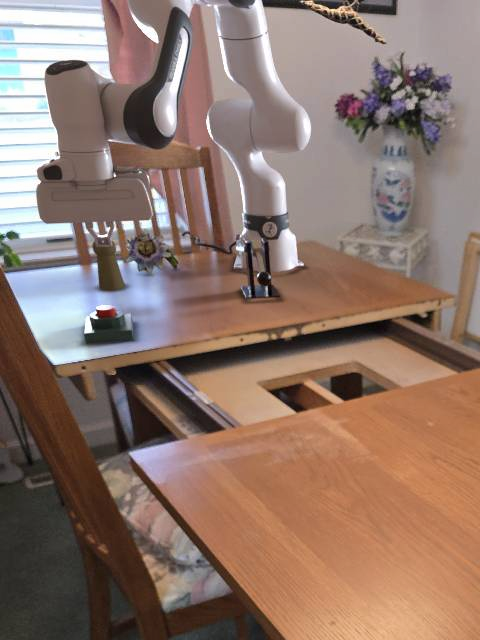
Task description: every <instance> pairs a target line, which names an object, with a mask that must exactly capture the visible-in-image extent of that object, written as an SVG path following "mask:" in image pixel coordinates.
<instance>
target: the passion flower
mask: <svg viewBox="0 0 480 640" xmlns="http://www.w3.org/2000/svg"><path fill="white" fill-rule="evenodd" d="M164 236H165V235H163V234H160V235H158V236H154V237H153V236H152V235H151V236H150V233H149V230H148V229H146V228H144V229H143V230H142V232H141V233H139V234H137V236H135V237H134V236H131V237H130V240H129V239H128V238H126V242H127V243H128V244H129V245H127V246H126V248H127V249H128V250H129V255H127V256H126V257H125V258H123V261H124V263H132V262H135V263H136V265H137V270H138V272H142V271H146V274H147V275H148V276H150V275H152V273H153V269H154V267H156V268H157V269H159V270H161V271H162V270H163V269H164V263H163V259H164V260H166V261H167V262H168V263H169V264H170V265H171V266H172V268H173V269H174V270H175V271H176V270H177V269H178V265H179V260H178V259H177V258H176V257H175V254H173V252H172V251H171V248H170V245H169V244H166V242H163V241H164V239H165V237H164Z"/></svg>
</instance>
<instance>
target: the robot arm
mask: <svg viewBox="0 0 480 640" xmlns="http://www.w3.org/2000/svg"><path fill="white" fill-rule="evenodd" d="M126 2H127V6H128V9H129V13H130V14H131V17H132V18H133V21H134V22H135V23H136V25H137V26H138V28H139V29H141V31H142V32H143V33H144V34H145V35H146V36H147V37H148V38H150V39H151V40H152V41H153V42H155V43H156V44H157V45H156V49H155V52H154V57H153V61H152V64H151V68H150V73H149V76H148V77H147V79H145V80H144V81H142V82H139V83H135V84H134V83H133V84H132V83H122V82H121V83H120V82H115V81H112V80H111V79H109V78H106V77H104V76H102V75H100V74H99V73H98V72H96V71H95V70H94V69H92V67H91V65H90V64H89V63H88V62H87V61H84V60H82V59H68V60H60V61H56V62H53V63H51V64H49V65H48V67H46V69H45V71H44V91H45V98H46V103H47V108H48V113H49V117H50V122H51V124H52V126H53V128H54V130H55V133H56V139H57V143H56V145H57V152H58V156H57V157H54V158H50V159H48V160H46V161H43V162H40V163H39V164H38V165H37V166H36V169H35V174H36V176H37V179H38V180H39V181H38V183H37V186H36V189H35V192H36V193H35V197H36V203H37V204H36V206H37V211H38V215H39V219H40V220H41V221H42V222H43V223H44V224H46V225H51V224H53V225H54V224H78V223H79V224H81V223H82V224H83V223H84V226H85V229H86V231H87V232H88V233H89V234H90V235H91V237H92V238H93V239H94V241H95V243H96V247H103V246H112V241H113V240H112V234H113V233H114V230H115V222H139V221H140V222H141V221H142V222H143V221H144V222H145V221H150V220H152V218H153V216H154V212H153V207H152V203H151V199H150V195H149V191H150V189H151V183H150V177H149V175H148V173H147V172H146V171H145V170H144V169H142V168H140V167H139V166H135V165H131V166H116V165H115V166H114V164H113V158H112V153H111V147H110V145H109V142H115V143H119V144H120V143H122V144H129V145H136V146H141V147H144V148H146V149H147V148H148V149H152V150H162V149H164V148H166V147H168V146H169V145H170V144H171V143H172V141H173V140H174V138H175V136H176V134H177V131H178V127H179V112H180V103H181V98H182V94H183V89H184V86H185V81H186V76H187V73H188V68H189V64H190V60H191V55H192V51H193V44H194V28H193V24H192V21H191V19H190V16H191V14H192V10H193V7H194V5H195V4H196V5H200V6H205V7H213V8H214V19H215V25H216V30H217V36H218V42H219V46H220V52H221V57H222V62H223V67H224V71H225V73H226V76H227V77H228V78H229V79H230V81H232V82H233V83H234V84H236V85H237V86H239V88H242V89H243V90H244V91H245V93H247V95H248V96H249V97H250V98H249V99H248V98H236V97H233V98H226V99H220V100H215V101H213V103H212V104H211V105H210V107H209V109H208V111H207V116H206V127H207V130H208V133H209V136H210V138H211V140H212V141H213V142H214V143H215V144H216V145H217V146H218V147H219V148H220V149H221V150H222V151H223V152H224V153H225V154H226V156H227V158H229V160H230V161H231V163H232V165H233V167H234V169H235V171H236V174H237V177H238V180H239V185H240V191H241V198H242V207H243V208H242V209H243V210H242V212H241V216H242V217H241V221H242V227H243V231H242V232H241V234H236V235H235V241H233V242H231V243H230V244H229V245H228V249H226V248H224V247H222V246H220V245H216V244H211V243H203V242H199V241H200V237H199V236H198V235H196V236H194V235H191V234H190V232H191V231H189V230H184V231H183V232H182V233H181V237H185V235H190V236H192V237H193V238H194V239H195V242H194V243H195V244H196V245H198V246H200V247H205V248H212V249H217V250H220V251H221V252H224V253H227V254H232V253H233V252H234V251H233V247H234V246H235V248H236V251H238V253H237V255H236V257H235V262H234V264H233V270H237V269H239V270H240V269H244V270H247V266H246V255H245V252H244V249H243V246H244V245H245V244H244V238H248V239H249V241H250V242H251V240H261V238H266V239H267V241H268V244H269V245H270V251H269V258H270V271H271V273H279V272H285V271H289V270H293V269H295V268H296V267H304V266H305V263H304V262H302V261H301V260H299V259H298V249H297V238H296V235H295V234H294V232H292V231H291V230H290V215H289V212H288V210H287V194H286V193H287V191H286V190H287V189H286V182H285V180H284V178H283V176H282V175H281V173H279V172H278V171H277V170H276V169H274V168H272V167H270V166H269V164H268V163H267V161H266V160H265V158H264V156H263V153H274V154H289V153H296V152H301V151H304V149H305V148H306V147H307V146H308V144H309V142H310V139H311V134H312V123H311V119H310V117H309V114H308V113H307V111H306V109H305V108H304V107H303V106H302V105H301V104H299V103H298V101H296V100H295V99H294V98H292V96H291V95H290V94H289V92H288V91H287V90H286V88H285V86H284V85H283V83H282V81H281V80H280V77H279V76H278V72H277V70H276V67H275V63H274V58H273V53H272V47H271V41H270V35H269V30H268V23H267V17H266V13H265V8H264V5H263V1H262V0H126ZM95 223H105V227H106V228H107V233H106V234H101V235H99V234H98V233H97V232H96V230H95V229H94V227H95ZM111 240H112V241H111ZM261 244H262V242H261ZM262 261H263V255H262ZM252 262H253V272H259V273H260V271H259V267H258V263H257V258H256V257H253V254H252Z"/></svg>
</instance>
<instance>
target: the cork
mask: <svg viewBox="0 0 480 640" xmlns="http://www.w3.org/2000/svg"><path fill="white" fill-rule="evenodd" d="M111 241H112V246H103V247H96V243H95V240H93V242H92V250H93V253H94V254H95V255H96V263H97V264H96V265H97V276H98V289H99V290H100V291H104V292H115V291H121V290H123V289H125V288H126V284H125V282H124V281H125V280H124V279H123V278H124V277H123V275H122V273H121V272H122V271H121V269H120V266H119V262H118V260H117V257H116V252H117V246H116V242H114V240H112V239H111Z"/></svg>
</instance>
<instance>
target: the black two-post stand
mask: <svg viewBox="0 0 480 640" xmlns="http://www.w3.org/2000/svg"><path fill="white" fill-rule="evenodd" d="M261 242H262V255H263V265H264V269H265V272H267V273H269V274H270V276H271V277H272V275H271V274H272V272H271V271H270V258H269V251H270V245H269V244H268V241H267V239H266V238H261ZM244 244H245V245H244V246H243V249H244V252H245V255H246V266H247V269H246V276H247V285H243V286H242V285H241V286H240V289H241V290H242V293H243V295H244V297H245V299H246V300H248V299H250V300H251V299H265V298H281V295H280V293H279V292H278V290H277V288H276V286H275V285H274V284H272V282H271V283H270V284H269V285H268V286H261V285H260V284H258V285H255V275H254V273H255V272H254V271H253V262H252V250H251V242H250V241H249V239H248V238H244Z"/></svg>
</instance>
